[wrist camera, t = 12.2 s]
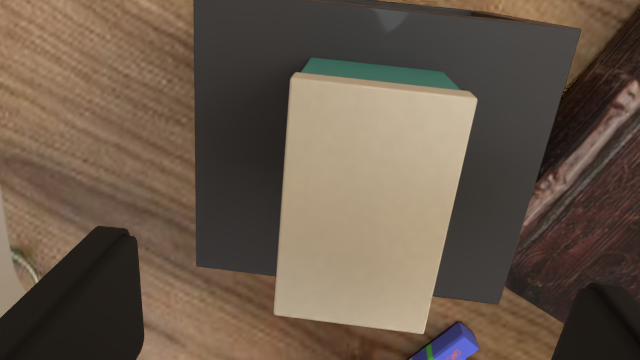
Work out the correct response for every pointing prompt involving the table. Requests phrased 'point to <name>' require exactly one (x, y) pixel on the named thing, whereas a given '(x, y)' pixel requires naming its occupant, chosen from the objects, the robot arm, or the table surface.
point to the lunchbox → (368, 191)
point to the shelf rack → (381, 49)
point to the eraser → (450, 345)
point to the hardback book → (587, 188)
